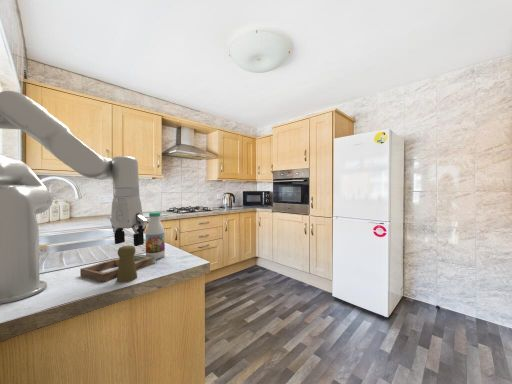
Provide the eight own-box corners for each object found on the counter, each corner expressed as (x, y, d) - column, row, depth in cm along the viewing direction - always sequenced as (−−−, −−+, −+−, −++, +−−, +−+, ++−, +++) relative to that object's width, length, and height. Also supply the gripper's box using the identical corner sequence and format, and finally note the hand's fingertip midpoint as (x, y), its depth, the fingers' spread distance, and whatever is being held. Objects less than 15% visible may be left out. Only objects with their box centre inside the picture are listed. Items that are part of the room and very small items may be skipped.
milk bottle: (143, 257, 96) (143, 212, 96) (161, 253, 101) (160, 211, 101) (148, 261, 90) (148, 213, 90) (167, 257, 95) (166, 212, 95)
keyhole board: (103, 282, 69) (103, 274, 69) (80, 275, 75) (80, 268, 75) (155, 262, 88) (155, 256, 87) (133, 259, 93) (133, 253, 93)
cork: (140, 277, 73) (140, 245, 73) (121, 284, 68) (121, 249, 68) (132, 273, 76) (131, 243, 76) (113, 279, 71) (112, 246, 71)
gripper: (99, 194, 72) (101, 245, 72) (133, 193, 65) (136, 249, 65) (121, 193, 79) (123, 239, 79) (154, 192, 72) (156, 243, 72)
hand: (129, 244), depth 72 cm, fingers open, 9 cm apart
